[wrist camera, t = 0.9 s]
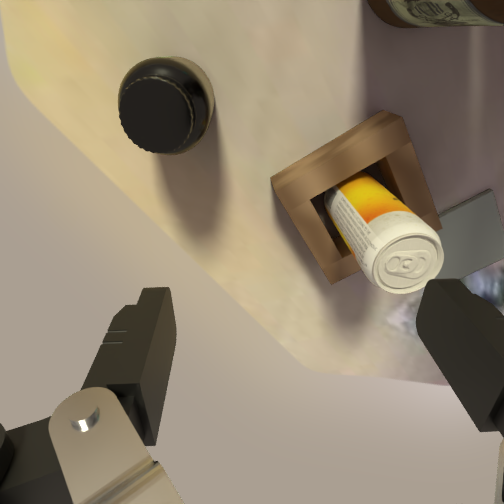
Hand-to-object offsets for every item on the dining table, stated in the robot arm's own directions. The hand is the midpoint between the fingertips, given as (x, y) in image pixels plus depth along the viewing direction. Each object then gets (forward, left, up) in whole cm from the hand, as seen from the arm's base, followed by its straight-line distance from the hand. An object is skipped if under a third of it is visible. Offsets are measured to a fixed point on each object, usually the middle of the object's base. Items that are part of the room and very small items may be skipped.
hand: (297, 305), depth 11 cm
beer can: (-6, +12, -28) cm, 31 cm away
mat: (-15, +25, -28) cm, 40 cm away
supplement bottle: (+4, -6, -28) cm, 29 cm away
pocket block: (-6, +12, -28) cm, 31 cm away
